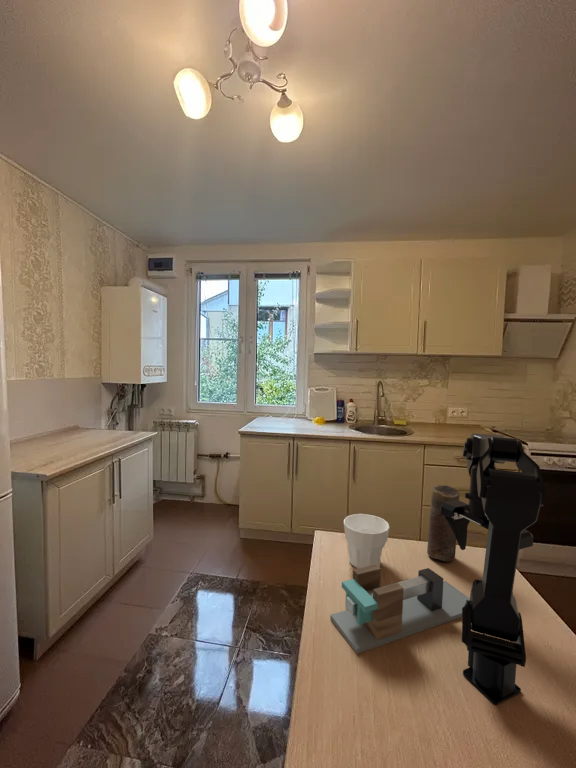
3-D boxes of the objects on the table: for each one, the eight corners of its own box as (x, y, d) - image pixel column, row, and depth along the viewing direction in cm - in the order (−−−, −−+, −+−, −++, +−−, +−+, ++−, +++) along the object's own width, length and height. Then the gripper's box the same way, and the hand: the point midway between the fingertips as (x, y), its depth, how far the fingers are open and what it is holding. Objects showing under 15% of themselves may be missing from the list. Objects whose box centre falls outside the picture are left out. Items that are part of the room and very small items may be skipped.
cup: (338, 569, 95) (339, 529, 95) (346, 546, 107) (347, 510, 106) (386, 579, 91) (388, 537, 91) (389, 554, 103) (390, 517, 103)
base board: (480, 610, 80) (481, 606, 80) (356, 654, 68) (356, 649, 68) (445, 584, 90) (445, 580, 90) (330, 619, 77) (330, 614, 77)
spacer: (377, 626, 70) (377, 603, 70) (364, 630, 69) (365, 606, 68) (353, 600, 78) (353, 578, 77) (341, 603, 77) (341, 581, 76)
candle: (457, 555, 104) (460, 487, 102) (454, 567, 97) (458, 495, 96) (429, 548, 107) (432, 482, 106) (424, 559, 101) (428, 490, 100)
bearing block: (401, 636, 72) (403, 587, 72) (376, 644, 70) (378, 594, 69) (374, 607, 81) (375, 564, 80) (351, 614, 78) (353, 569, 78)
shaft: (442, 608, 80) (443, 578, 79) (354, 637, 70) (356, 604, 70) (427, 596, 84) (428, 567, 83) (342, 622, 74) (343, 591, 74)
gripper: (553, 501, 73) (547, 575, 74) (473, 474, 90) (470, 534, 91) (516, 509, 69) (511, 587, 70) (440, 479, 86) (437, 542, 87)
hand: (480, 559), depth 79 cm, fingers open, 9 cm apart
